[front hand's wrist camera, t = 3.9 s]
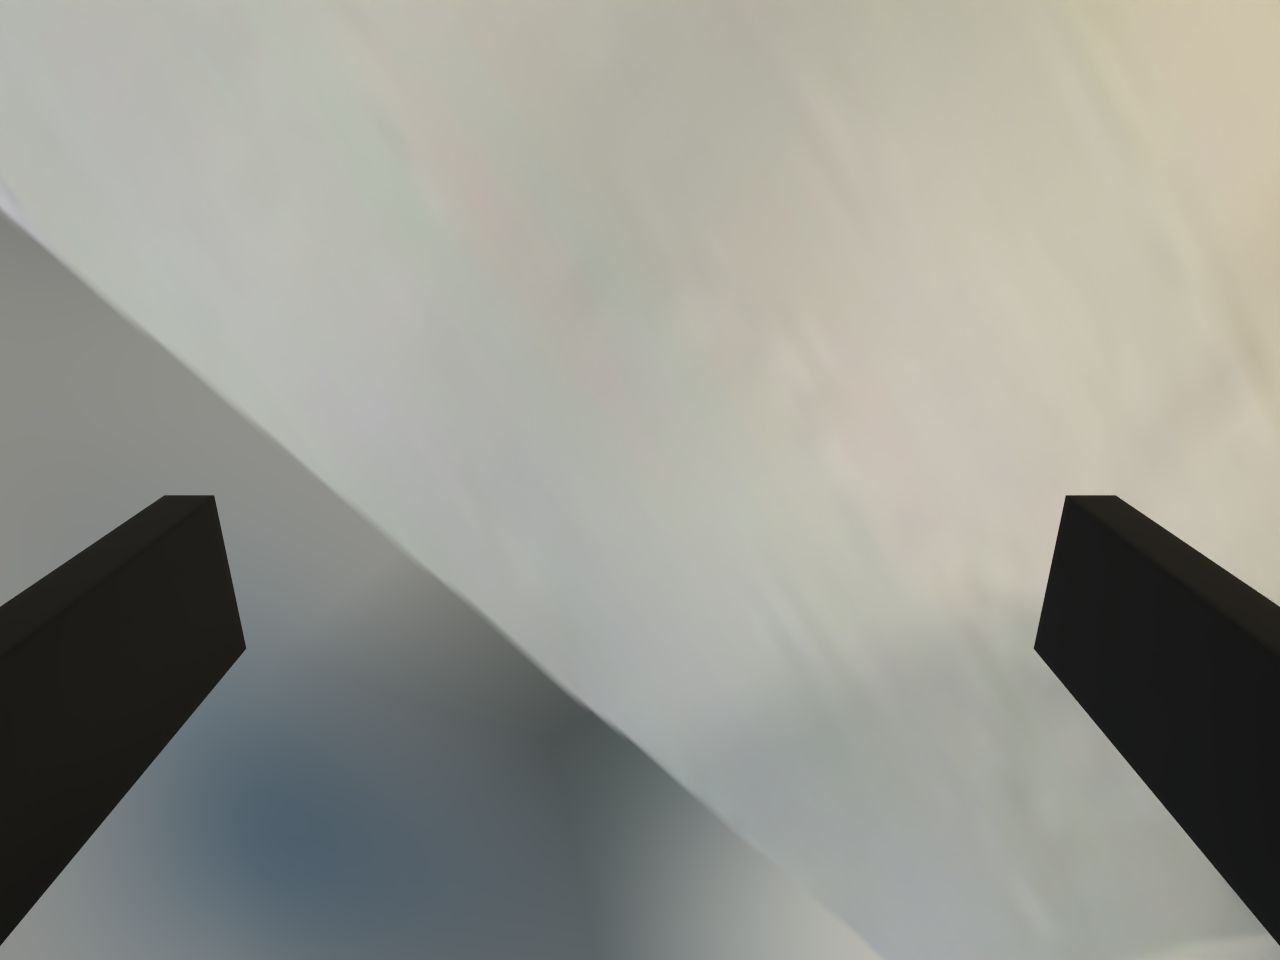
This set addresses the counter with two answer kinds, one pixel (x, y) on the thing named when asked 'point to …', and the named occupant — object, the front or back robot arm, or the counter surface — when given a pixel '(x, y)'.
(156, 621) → the front robot arm
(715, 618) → the counter surface
